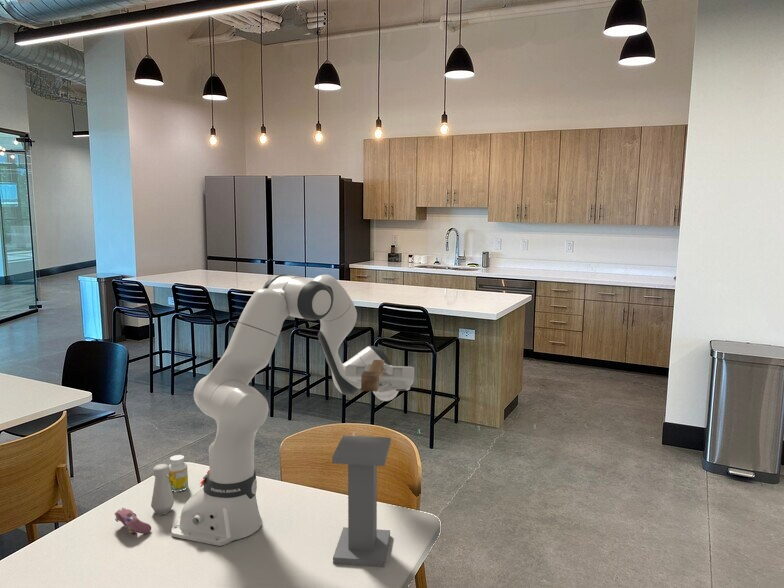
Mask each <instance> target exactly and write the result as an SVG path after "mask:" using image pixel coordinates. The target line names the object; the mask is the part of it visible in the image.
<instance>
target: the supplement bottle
mask: <svg viewBox="0 0 784 588" xmlns="http://www.w3.org/2000/svg"><path fill="white" fill-rule="evenodd" d="M169 463H170V464H169V465H168V466H169V468H170V471H169V474H168V478H169V482H170V486H171V490H173V491H180V490H183V489H185V488H187V487H189V474H188V473H189V471H188V464H187V462H185V456H184V455H182V454H175V455H172V456H170V457H169ZM187 489H188V488H187Z"/></svg>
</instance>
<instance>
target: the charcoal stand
mask: <svg viewBox="0 0 784 588" xmlns="http://www.w3.org/2000/svg"><path fill="white" fill-rule="evenodd" d="M391 441H392V437H388V436H387V437H384V436H383V437H382V436H362V435H359V436H358V435H342V436H341V439H340V441H339V442H338V445H337V446H336V448H335V450H334V452H333V455H332V457H331V459H332V460H331V462H332V464H338V465H347V501H348V503H347V506H348V507H347V508H348V509H347V511H348V512H347V514H348V515H347V518H348V519H347V523H348V524H347V527H346V526H345V527H344V526H343V527H342V531H341V534H340V536H339V539H338V542H337V544H336V545H337V546H336V547H335V551H334V553H333V557H332V563H333V564H335V565H337V564H338V565H351V566H353V565H354V566H365V567H366V566H367V567H380V568H381V567H383V568H384V567H385V564H386V559H387V555H388V549H389V543H390V539H391V530H390V529H377V528H378V526H377V524H378V519H377V516H378V514H377V513H378V512H377V511H378V508H377V507H378V503H377V501H378V497H377V496H378V493H377V492H378V486H377V485H378V467H385V466H386V463H387V459H388V455H389V451H390V448H391V444H392V442H391Z"/></svg>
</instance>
